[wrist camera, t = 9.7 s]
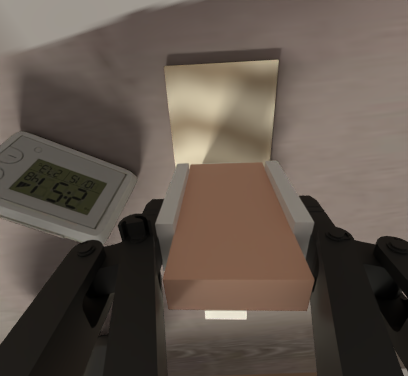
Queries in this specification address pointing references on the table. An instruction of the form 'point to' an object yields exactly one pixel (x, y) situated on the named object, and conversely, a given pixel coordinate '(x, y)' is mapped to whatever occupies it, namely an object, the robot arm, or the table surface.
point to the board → (222, 111)
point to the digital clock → (60, 189)
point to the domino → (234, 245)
